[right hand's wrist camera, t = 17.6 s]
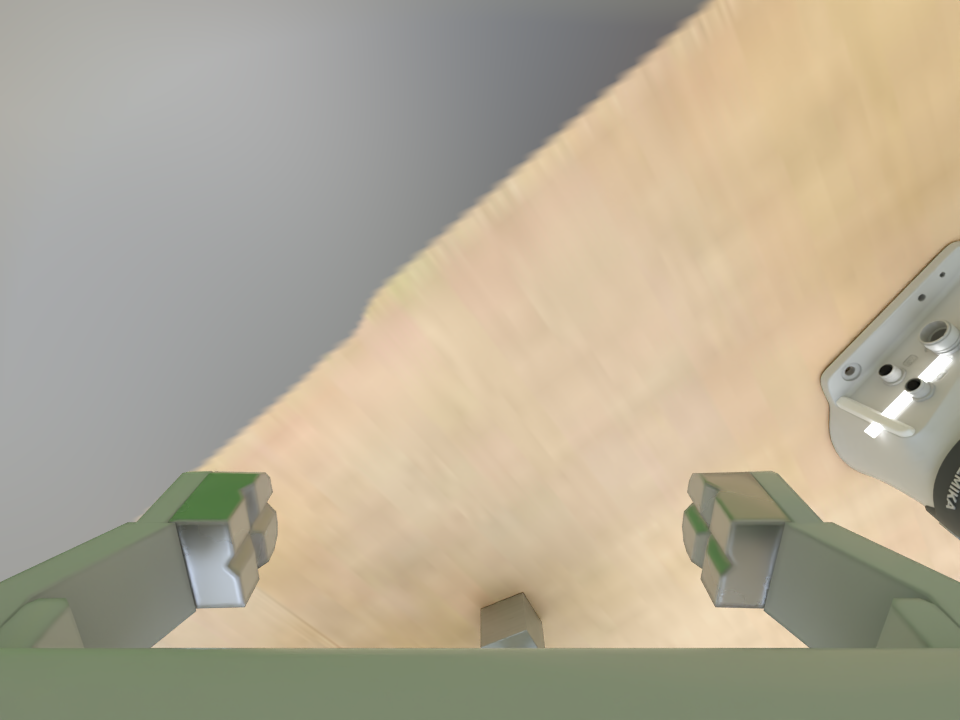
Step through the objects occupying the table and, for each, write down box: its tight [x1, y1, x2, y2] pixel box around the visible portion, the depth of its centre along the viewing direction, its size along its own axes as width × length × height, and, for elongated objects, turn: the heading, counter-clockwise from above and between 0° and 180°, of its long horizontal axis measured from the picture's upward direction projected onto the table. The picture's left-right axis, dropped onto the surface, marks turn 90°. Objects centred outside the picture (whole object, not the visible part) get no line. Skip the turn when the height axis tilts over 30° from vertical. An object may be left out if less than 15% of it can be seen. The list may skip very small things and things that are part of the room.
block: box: [481, 593, 545, 648], centre depth 56 cm, size 5×5×5 cm
